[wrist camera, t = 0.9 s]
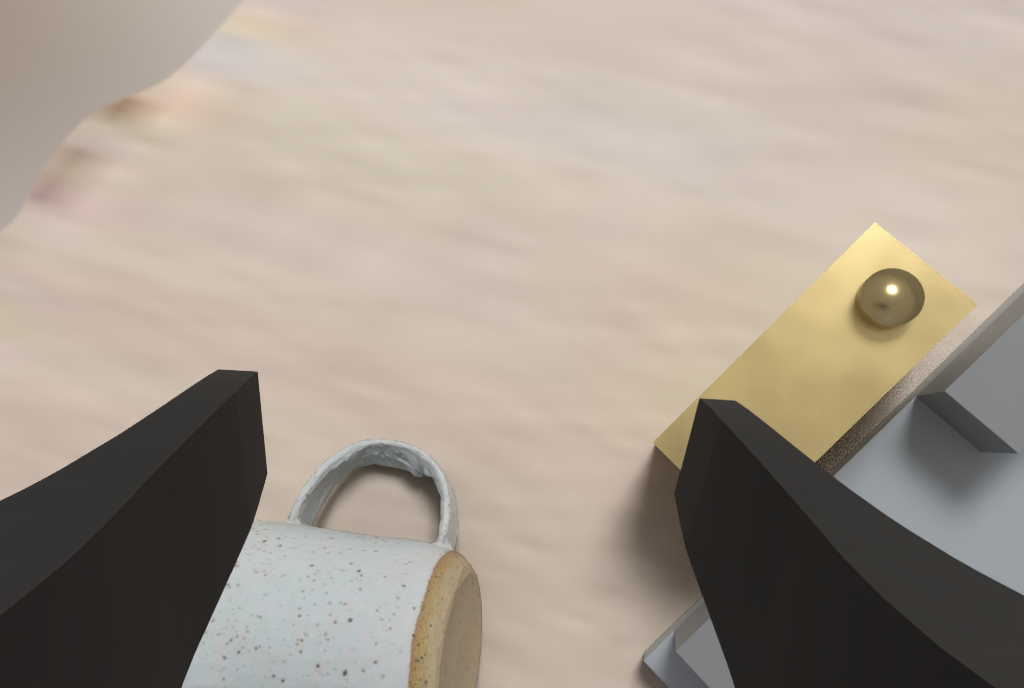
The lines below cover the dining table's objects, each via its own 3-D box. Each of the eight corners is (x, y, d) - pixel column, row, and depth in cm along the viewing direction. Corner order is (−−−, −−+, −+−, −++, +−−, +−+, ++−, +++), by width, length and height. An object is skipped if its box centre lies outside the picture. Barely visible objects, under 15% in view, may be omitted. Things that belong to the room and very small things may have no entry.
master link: (917, 331, 24) (987, 300, 19) (729, 514, 25) (745, 534, 19) (836, 264, 25) (880, 215, 20) (656, 442, 26) (652, 442, 20)
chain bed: (1366, 456, 21) (1500, 459, 18) (876, 904, 22) (913, 988, 19) (1070, 238, 23) (1138, 203, 20) (644, 651, 25) (640, 685, 21)
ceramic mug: (488, 741, 25) (414, 859, 18) (283, 714, 27) (138, 811, 20) (499, 444, 27) (435, 440, 20) (305, 437, 29) (178, 431, 21)
